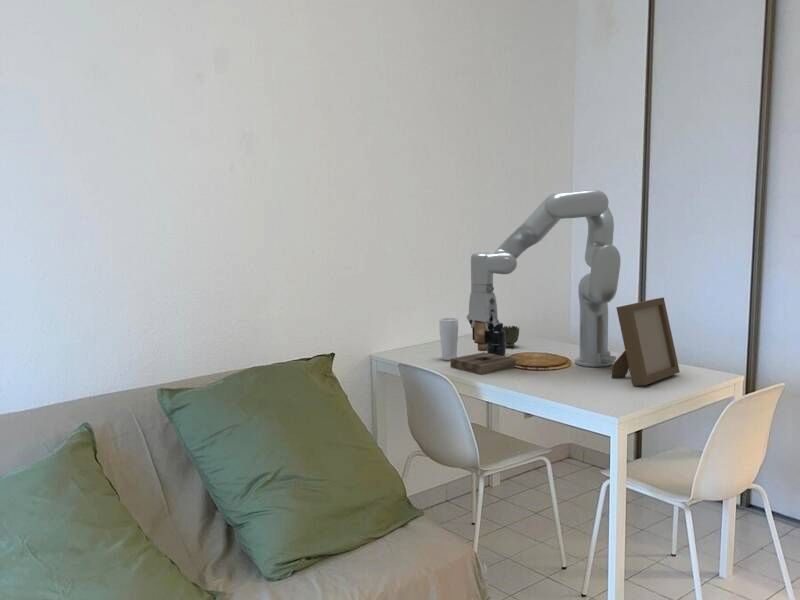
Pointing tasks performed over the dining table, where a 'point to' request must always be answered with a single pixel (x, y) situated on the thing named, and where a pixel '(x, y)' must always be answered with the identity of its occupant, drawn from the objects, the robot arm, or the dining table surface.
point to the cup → (511, 335)
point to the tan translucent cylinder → (480, 335)
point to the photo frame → (646, 343)
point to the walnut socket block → (483, 363)
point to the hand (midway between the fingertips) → (482, 340)
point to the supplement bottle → (498, 341)
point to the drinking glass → (449, 337)
